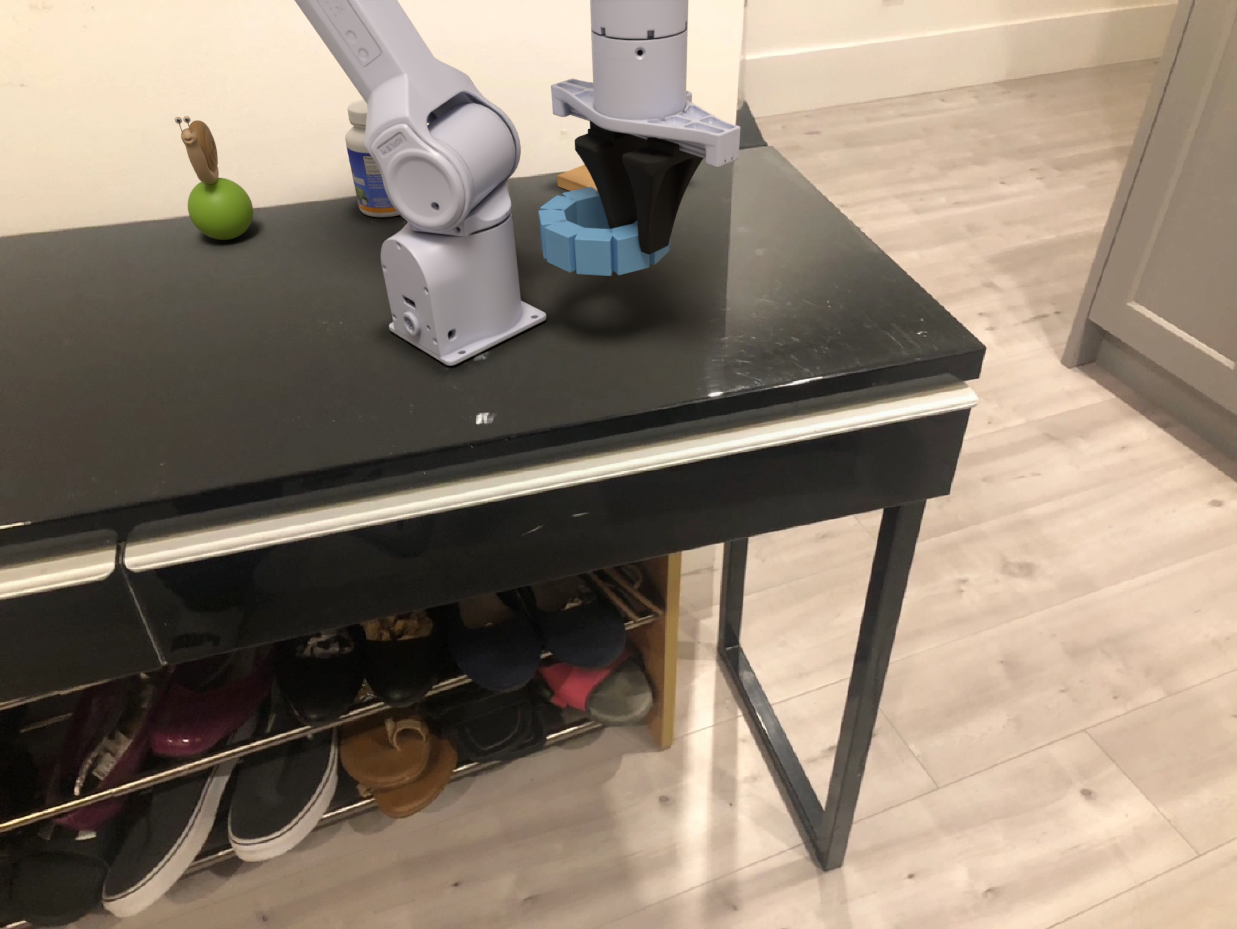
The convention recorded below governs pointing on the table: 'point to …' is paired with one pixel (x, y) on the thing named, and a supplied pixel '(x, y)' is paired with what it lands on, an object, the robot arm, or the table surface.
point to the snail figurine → (213, 188)
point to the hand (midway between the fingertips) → (640, 242)
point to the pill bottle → (365, 167)
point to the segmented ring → (589, 237)
